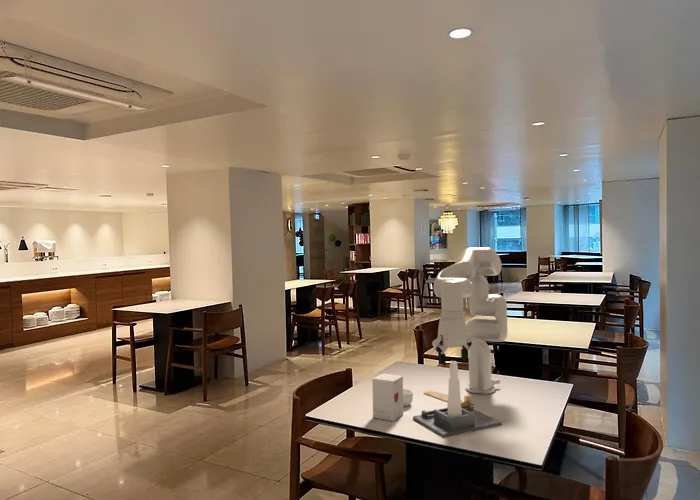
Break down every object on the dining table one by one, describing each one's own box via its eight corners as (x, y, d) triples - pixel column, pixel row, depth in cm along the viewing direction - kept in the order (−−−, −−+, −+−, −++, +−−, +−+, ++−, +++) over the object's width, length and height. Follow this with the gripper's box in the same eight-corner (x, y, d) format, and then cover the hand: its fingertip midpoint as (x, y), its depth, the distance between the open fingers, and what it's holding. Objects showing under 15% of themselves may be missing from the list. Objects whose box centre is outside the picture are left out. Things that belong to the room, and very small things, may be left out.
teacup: (416, 406, 197) (416, 393, 197) (399, 408, 194) (398, 395, 194) (405, 399, 206) (405, 386, 206) (388, 401, 204) (388, 388, 204)
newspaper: (423, 395, 213) (423, 391, 213) (435, 392, 217) (435, 388, 217) (463, 409, 194) (463, 405, 194) (475, 406, 197) (475, 401, 197)
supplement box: (393, 421, 180) (392, 381, 180) (372, 417, 185) (371, 378, 185) (404, 414, 188) (403, 375, 188) (383, 410, 193) (382, 372, 192)
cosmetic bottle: (453, 427, 171) (451, 364, 171) (442, 421, 176) (441, 360, 176) (467, 424, 173) (465, 362, 173) (456, 418, 179) (455, 358, 179)
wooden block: (468, 406, 191) (468, 394, 191) (471, 408, 190) (470, 395, 190) (447, 411, 187) (447, 398, 187) (449, 412, 186) (449, 399, 186)
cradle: (467, 408, 193) (467, 396, 193) (501, 424, 175) (501, 410, 175) (413, 419, 182) (412, 405, 182) (443, 437, 165) (443, 422, 165)
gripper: (465, 311, 181) (466, 357, 182) (426, 315, 174) (427, 363, 175) (478, 314, 175) (479, 361, 175) (438, 318, 167) (439, 368, 168)
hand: (453, 362), depth 175 cm, fingers open, 9 cm apart
